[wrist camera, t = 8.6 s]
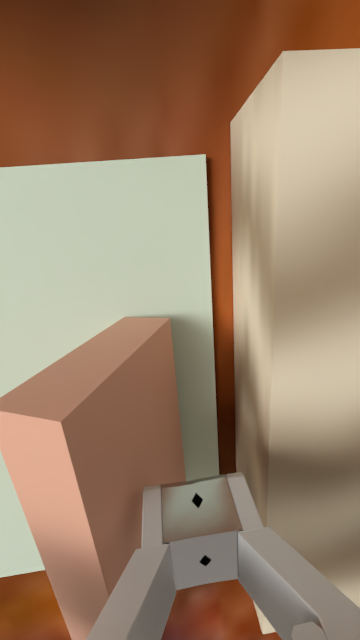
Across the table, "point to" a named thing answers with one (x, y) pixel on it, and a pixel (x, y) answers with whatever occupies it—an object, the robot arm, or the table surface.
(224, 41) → the table surface
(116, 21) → the table surface
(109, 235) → the mat
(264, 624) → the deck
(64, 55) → the table surface
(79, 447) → the pink rectangular block
